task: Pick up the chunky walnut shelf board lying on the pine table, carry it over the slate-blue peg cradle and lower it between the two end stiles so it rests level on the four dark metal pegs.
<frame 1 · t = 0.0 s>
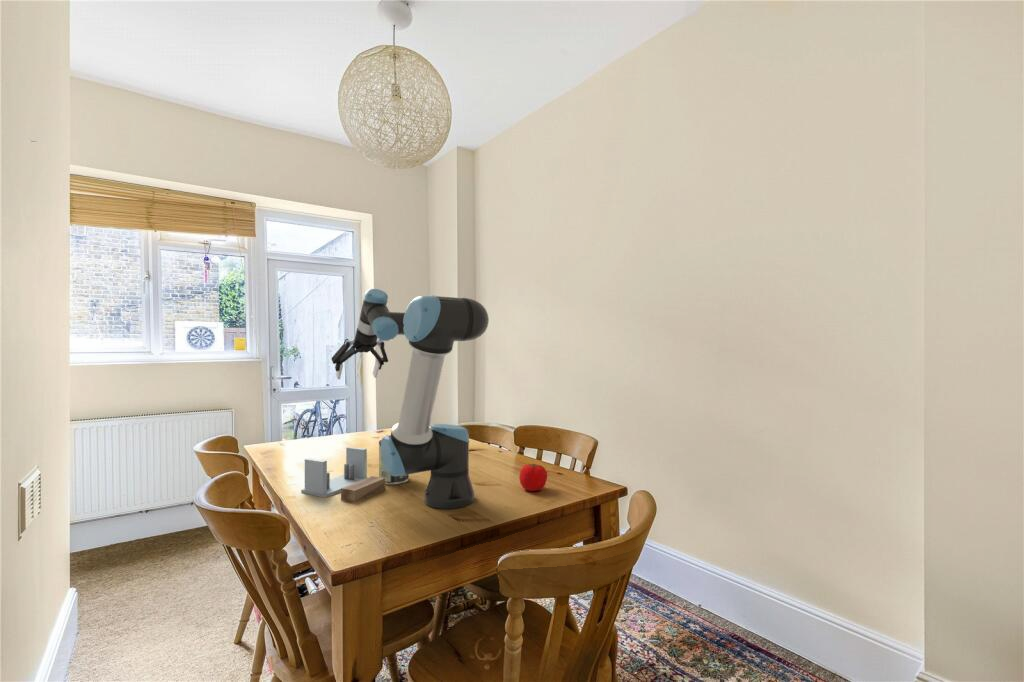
hand: (356, 376, 173), 36 cm above the table, tool tilted 35°, fingers open, 13 cm apart
peg cradle: (337, 486, 156), on the table
coffee can: (393, 481, 163), on the table
tomato: (532, 489, 154), on the table
shelf board: (363, 495, 148), on the table
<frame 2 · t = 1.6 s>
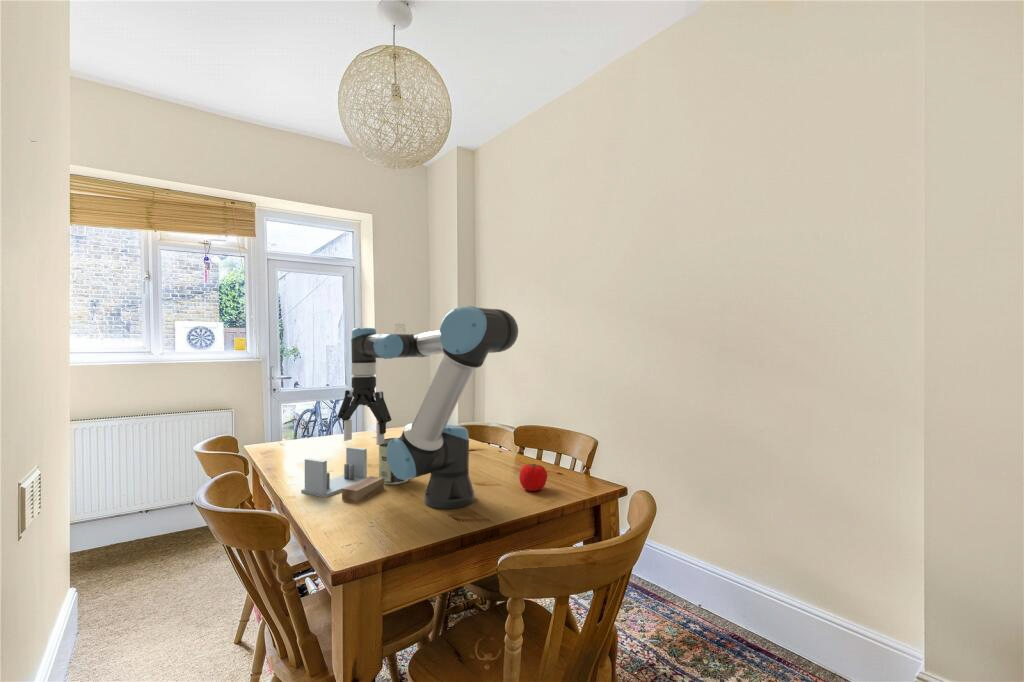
hand: (363, 442, 148), 17 cm above the table, tool pointing down, fingers open, 13 cm apart
nothing on the table moved.
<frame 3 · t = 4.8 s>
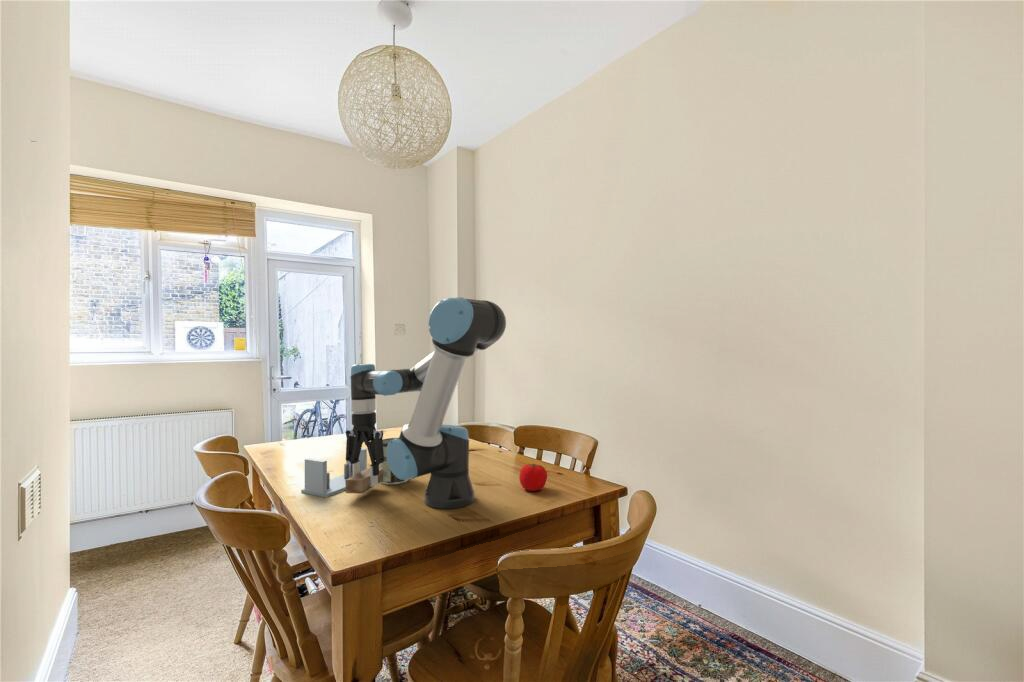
hand: (365, 484, 148), 3 cm above the table, tool pointing down, fingers closed on shelf board, 6 cm apart
shelf board: (365, 486, 148), point 3 cm above the table, touching gripper
everything else where it was.
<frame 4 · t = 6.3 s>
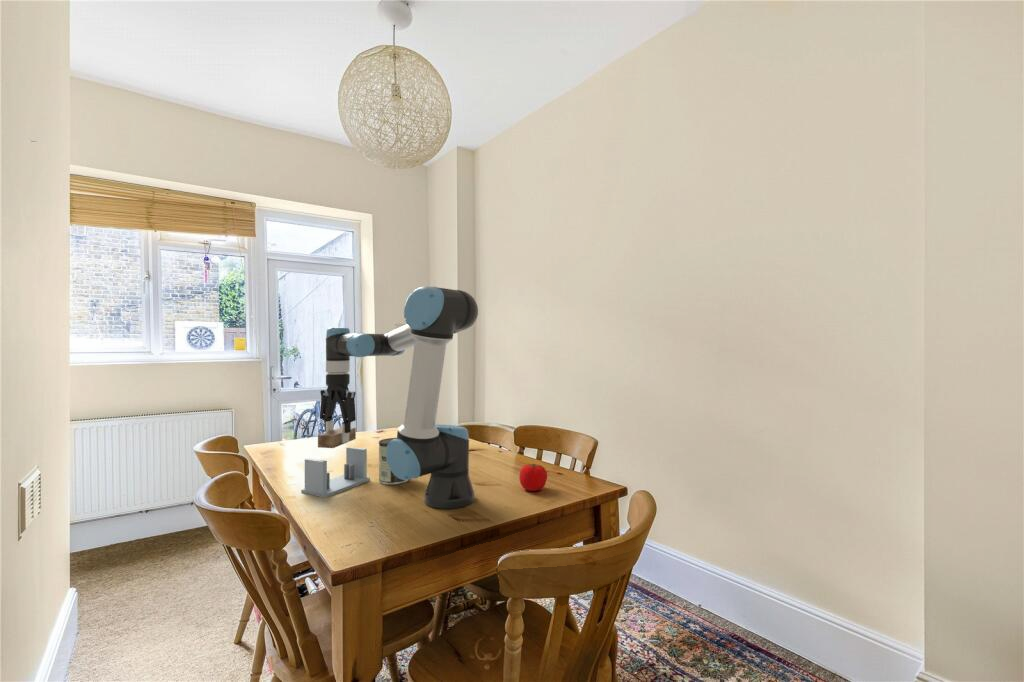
hand: (337, 441, 156), 15 cm above the table, tool pointing down, fingers closed on shelf board, 6 cm apart
shelf board: (337, 443, 156), point 15 cm above the table, touching gripper
everything else where it was.
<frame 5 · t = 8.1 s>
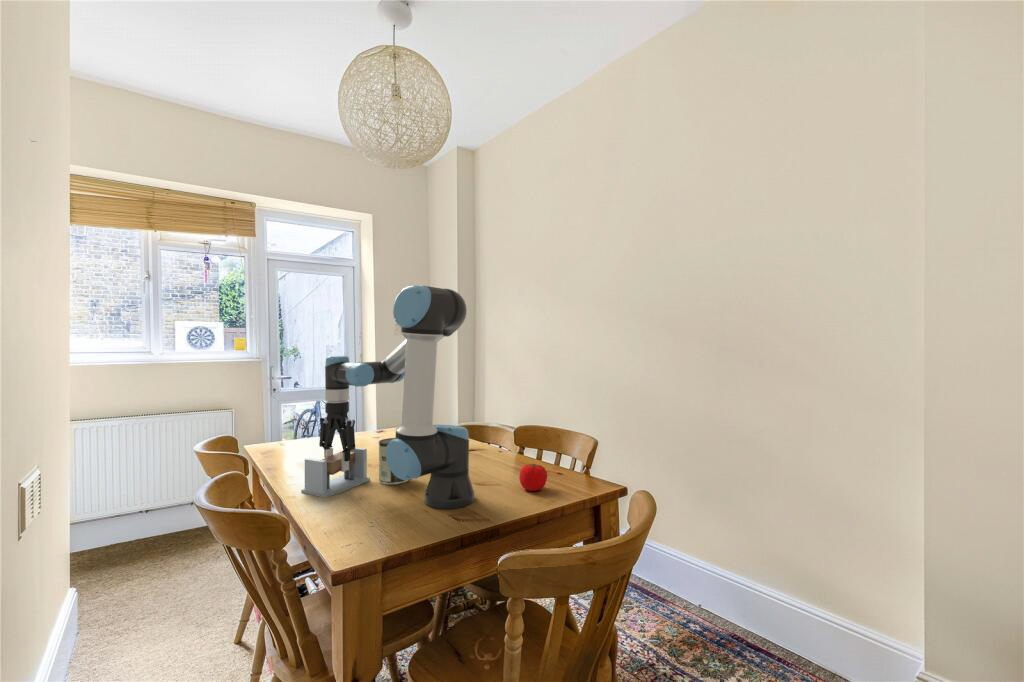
hand: (337, 469, 156), 6 cm above the table, tool pointing down, fingers closed on shelf board, 6 cm apart
shelf board: (337, 468, 156), point 6 cm above the table, touching gripper, peg cradle
everything else where it was.
when the fingers open (6 cm above the table, at t = 8.4 s): shelf board stays where it is, resting on peg cradle.
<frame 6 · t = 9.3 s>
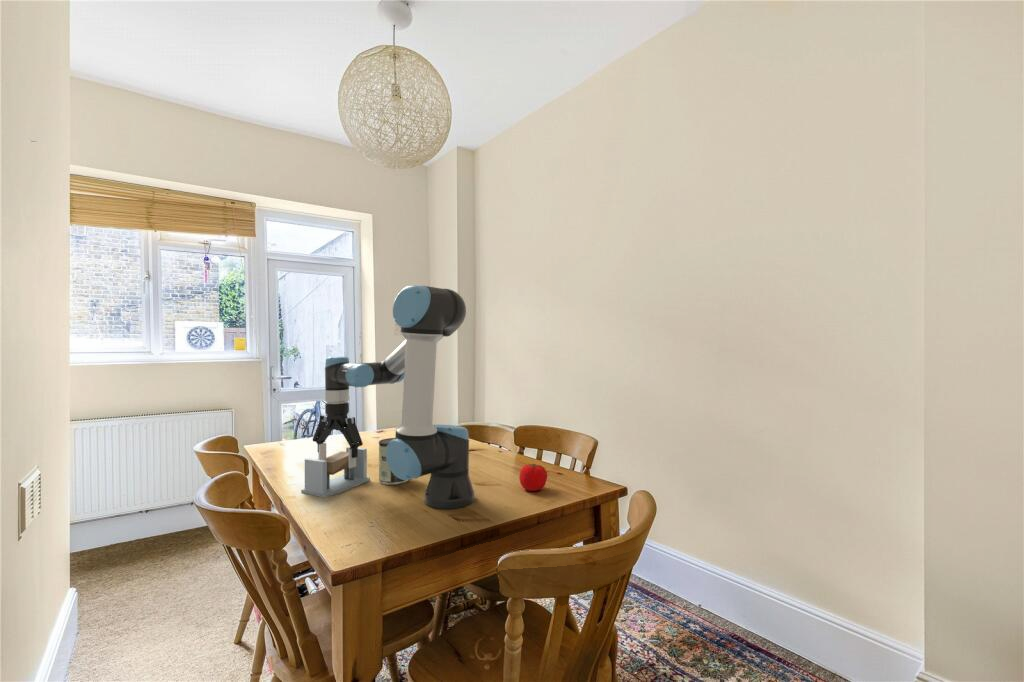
hand: (337, 465, 156), 7 cm above the table, tool pointing down, fingers open, 13 cm apart
shelf board: (337, 468, 156), point 6 cm above the table, touching peg cradle
everything else where it was.
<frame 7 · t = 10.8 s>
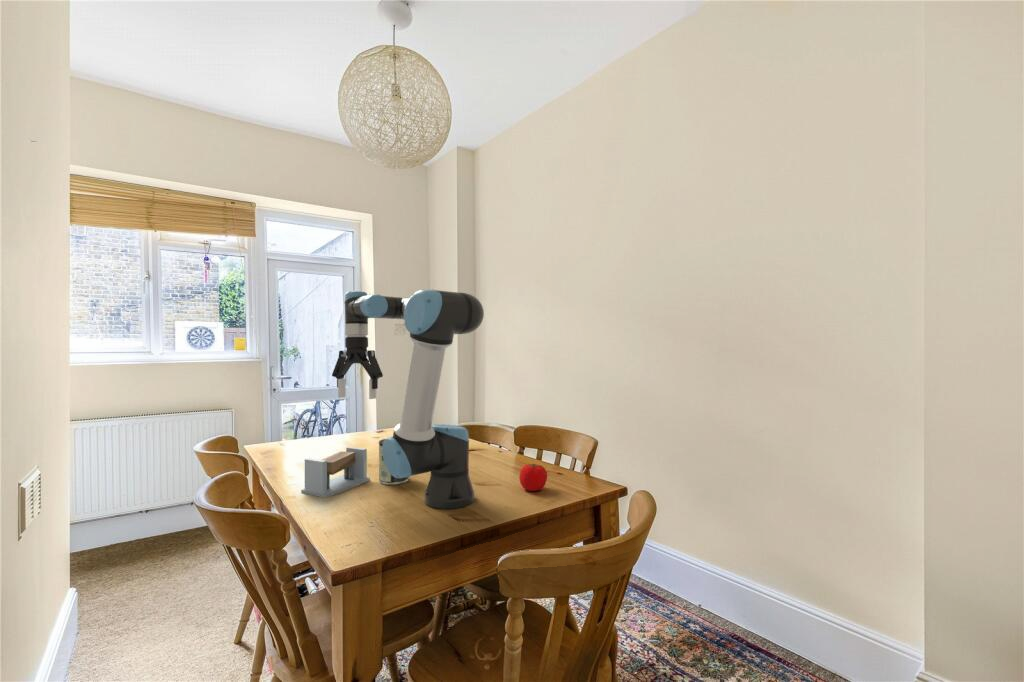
hand: (357, 398, 159), 29 cm above the table, tool pointing down, fingers open, 13 cm apart
nothing on the table moved.
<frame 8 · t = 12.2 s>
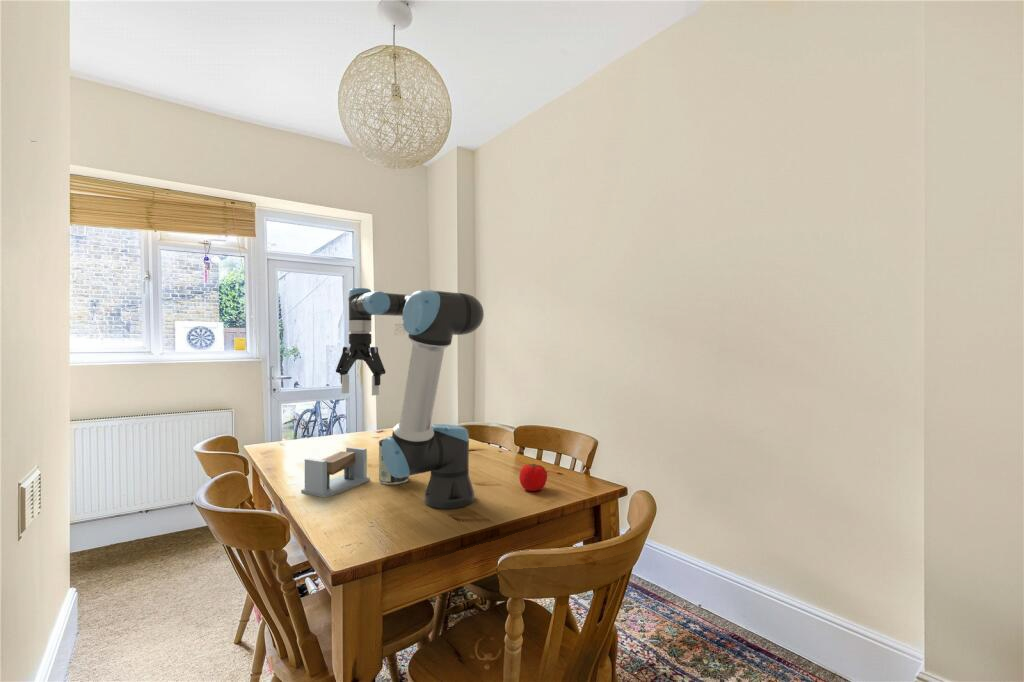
hand: (360, 394, 160), 31 cm above the table, tool pointing down, fingers open, 13 cm apart
nothing on the table moved.
at the end: shelf board 0.1 cm off-centre on the peg cradle, point 6.0 cm above the peg cradle's base; shelf board tilted 0°; the gripper is holding nothing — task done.
